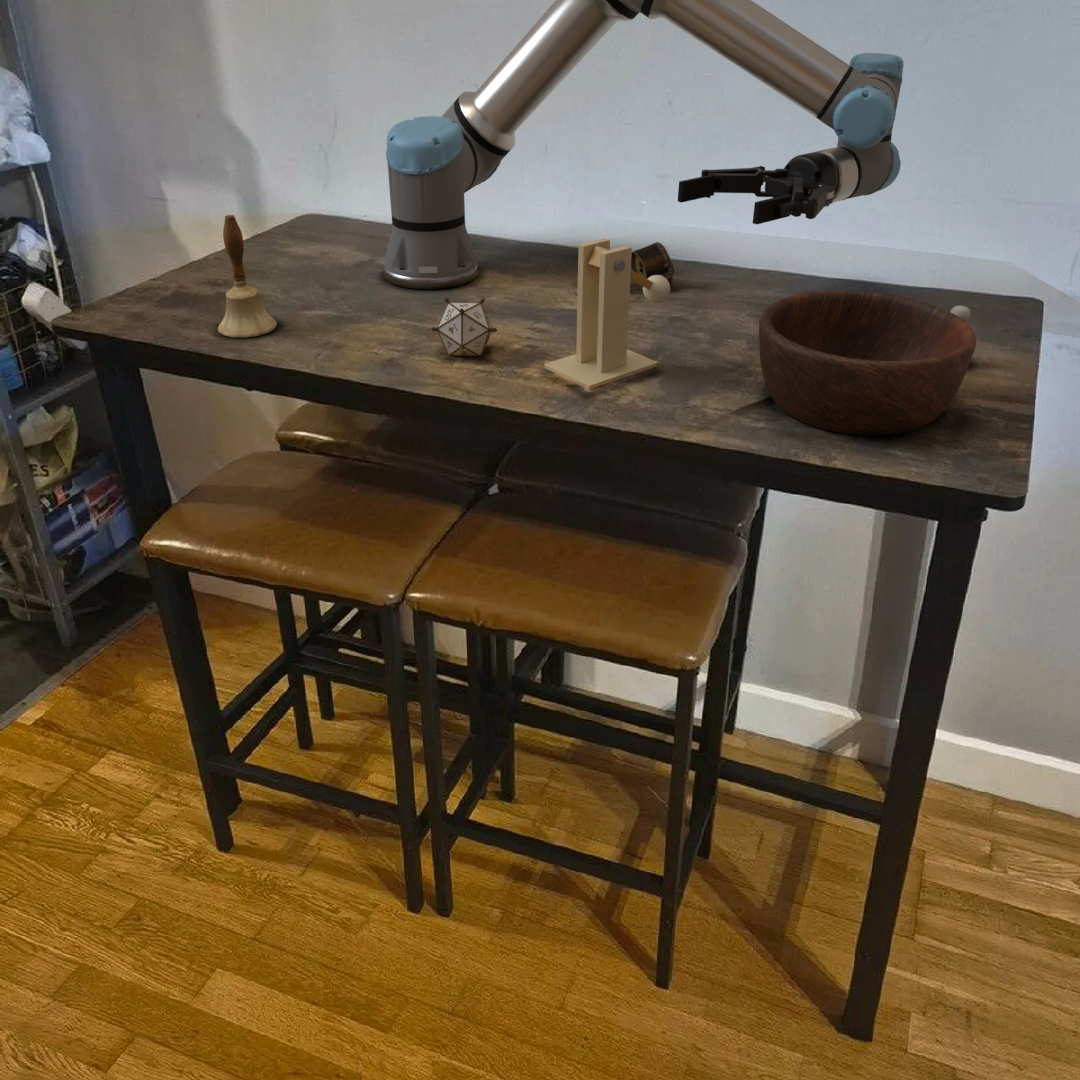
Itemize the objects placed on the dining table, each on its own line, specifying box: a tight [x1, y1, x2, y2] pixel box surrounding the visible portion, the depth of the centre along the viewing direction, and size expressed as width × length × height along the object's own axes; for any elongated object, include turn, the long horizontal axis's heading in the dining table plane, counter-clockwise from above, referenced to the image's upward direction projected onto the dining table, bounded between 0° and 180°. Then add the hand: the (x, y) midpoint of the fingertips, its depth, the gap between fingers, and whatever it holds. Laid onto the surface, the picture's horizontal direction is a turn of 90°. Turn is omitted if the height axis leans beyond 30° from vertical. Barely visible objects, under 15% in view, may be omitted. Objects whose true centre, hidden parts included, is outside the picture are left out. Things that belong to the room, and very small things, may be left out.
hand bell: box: [217, 214, 278, 339], centre depth 149 cm, size 8×8×16 cm
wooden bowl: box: [758, 289, 977, 437], centre depth 129 cm, size 25×25×10 cm
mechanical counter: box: [630, 241, 675, 292], centre depth 166 cm, size 7×13×10 cm
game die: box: [430, 296, 498, 357], centre depth 142 cm, size 9×8×10 cm
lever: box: [588, 246, 671, 304], centre depth 136 cm, size 14×4×4 cm
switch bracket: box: [543, 238, 659, 391], centre depth 135 cm, size 12×9×17 cm
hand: (716, 202), depth 141 cm, fingers open, 13 cm apart
